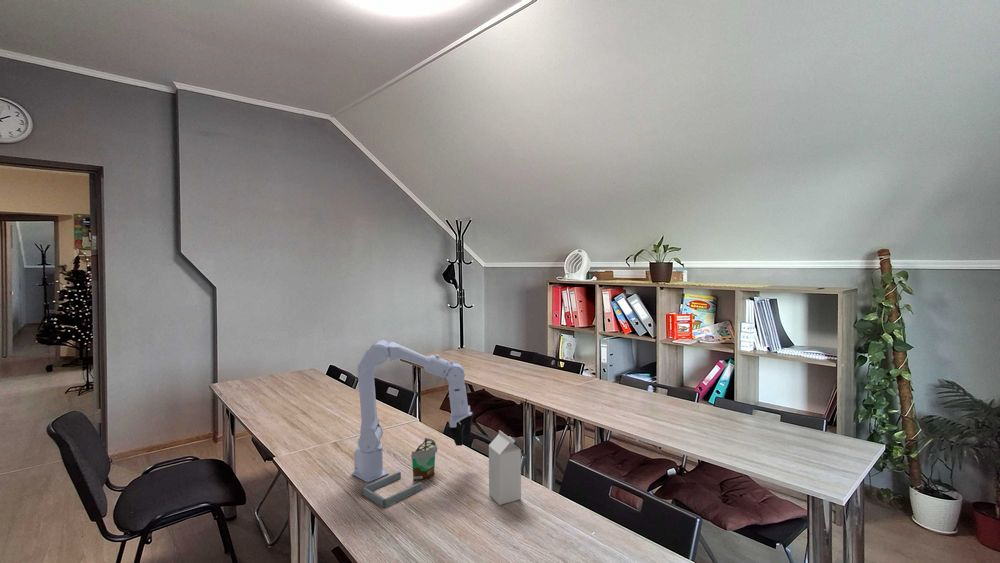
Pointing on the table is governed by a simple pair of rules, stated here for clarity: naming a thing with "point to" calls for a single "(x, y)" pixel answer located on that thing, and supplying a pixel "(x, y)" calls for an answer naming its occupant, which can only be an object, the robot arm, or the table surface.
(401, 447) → the table surface
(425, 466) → the food container
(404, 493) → the u-shaped bracket
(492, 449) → the milk carton
